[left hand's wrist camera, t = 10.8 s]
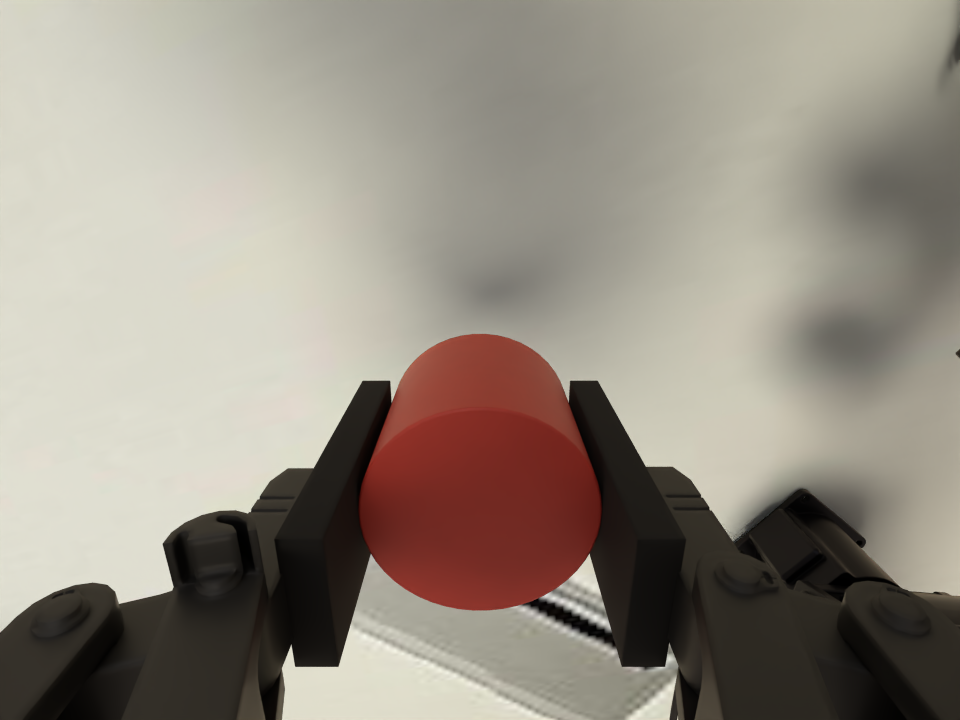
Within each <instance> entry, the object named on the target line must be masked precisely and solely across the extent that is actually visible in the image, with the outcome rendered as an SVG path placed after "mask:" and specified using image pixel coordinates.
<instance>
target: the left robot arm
mask: <svg viewBox="0 0 960 720" xmlns="http://www.w3.org/2000/svg"><path fill="white" fill-rule="evenodd" d="M391 404H392V402H391V387H390V381H362V383H361V385H360V387H359V388H358V390H357V392H356V394H355V396H354V397H353V399H352V401H351V403H350V405H349V406H348V408H347V410H346V412H345V413H344V415H343V417H342V419H341V421H340V422H339V424H338V426H337V428H336V430H335V431H334V433H333V435H332V437H331V438H330V440H329V442H328V444H327V446H326V447H325V449H324V451H323V453H322V455H321V456H320V458H319V460H318V462H317V463H316V465H315V467H314V468H288V469H287V470H285V471H284V472H282V473H281V474H280V475H278V476H277V477H275V478H274V479H273V480H271V481H270V482H269V484H268V485H267V487H266V488H265V490H264V491H263V493H262V494H261V496H260V499H259V500H257V501H256V503H255V504H254V506H253V507H252V509H251V512H249V513H248V514H247V513H243V512H239V511H236V510H234V511H217V512H213V513H209V514H205V515H201V516H199V517H197V518H195V519H192V520H190V521H188V522H186V523H184V524H183V525H181V526H180V527H178V528H177V529H176V530H174V531H173V532H172V533H171V534H170V535H169V536H168V538H167V539H166V540H165V541H164V543H163V547H164V551H165V555H166V559H167V563H168V567H169V570H170V574H171V578H172V582H173V586H174V588H173V590H172V591H170V592H167V593H163V594H160V595H156V596H152V597H148V598H143V599H139V600H135V601H130V602H126V603H122V604H119V603H118V600H117V597H116V593H115V591H114V590H112V589H111V588H110V587H109V586H108V585H104V584H98V583H88V584H80V585H74V586H71V587H68V588H65V589H62V590H60V591H57V592H54V593H52V594H50V595H48V596H46V597H45V598H43V599H41V600H39V601H37V602H35V603H34V604H32V605H31V606H30V607H28V608H27V609H26V610H25V611H23V612H22V613H21V614H20V615H18V616H17V617H16V618H15V619H14V620H13V621H12V622H11V623H10V624H9V625H8V626H7V627H6V628H5V629H4V630H3V631H2V632H1V633H0V720H282V712H283V703H284V693H285V686H284V679H283V673H282V666H283V664H284V661H285V659H286V656H287V654H288V651H289V649H290V646H291V644H292V650H293V656H294V662H295V667H338V666H339V663H340V659H341V656H342V652H343V649H344V645H345V642H346V638H347V635H348V631H349V628H350V624H351V621H352V617H353V614H354V610H355V607H356V603H357V600H358V596H359V593H360V589H361V586H362V582H363V579H364V575H365V572H366V568H367V565H368V561H369V558H370V554H371V553H370V551H369V549H368V547H367V545H366V542H365V540H364V538H363V534H362V531H361V527H360V521H359V512H358V504H359V494H360V489H361V484H362V481H363V479H364V476H365V473H366V471H367V468H368V465H369V463H370V460H371V457H372V455H373V452H374V449H375V447H376V444H377V441H378V439H379V436H380V433H381V431H382V428H383V425H384V423H385V420H386V417H387V415H388V412H389V409H390V407H391ZM569 405H570V408H571V411H572V413H573V416H574V419H575V421H576V424H577V427H578V430H579V432H580V435H581V438H582V440H583V443H584V446H585V448H586V451H587V454H588V456H589V459H590V462H591V464H592V467H593V470H594V472H595V475H596V478H597V481H598V484H599V488H600V493H601V500H602V514H601V524H600V528H599V532H598V536H597V538H596V541H595V543H594V545H593V548H592V550H591V551H590V557H591V560H592V564H593V567H594V571H595V574H596V578H597V581H598V585H599V588H600V592H601V595H602V599H603V602H604V606H605V609H606V613H607V616H608V620H609V623H610V627H611V630H612V634H613V637H614V641H615V644H616V648H617V651H618V655H619V658H620V662H621V665H622V667H665V664H666V658H667V652H668V646H669V643H670V645H671V648H672V650H673V653H674V655H675V658H676V660H677V663H678V665H679V667H678V673H677V678H676V684H675V690H674V695H673V701H672V706H671V713H670V720H677V716H678V720H960V629H959V628H958V627H957V626H956V625H955V624H954V623H953V622H952V621H951V620H950V619H949V618H948V617H947V616H946V615H945V614H943V613H942V612H941V611H940V610H938V609H937V608H936V607H934V606H933V605H932V604H931V603H929V602H928V601H926V600H925V599H923V598H921V597H919V596H917V595H915V594H913V593H911V592H910V591H908V590H905V589H902V588H900V587H896V586H893V585H890V584H887V583H882V582H875V581H862V582H856V583H853V584H852V585H851V586H850V587H849V588H847V589H846V592H845V595H844V598H843V601H842V602H839V601H835V600H831V599H826V598H822V597H818V596H813V595H809V594H805V593H801V592H798V591H794V590H791V589H788V588H787V587H786V585H785V584H784V582H783V581H782V579H781V578H780V576H779V575H778V574H777V573H776V572H775V571H774V570H772V569H771V568H770V567H769V566H767V565H766V564H765V563H763V562H761V561H759V560H757V559H755V558H753V557H751V556H749V555H745V554H742V553H740V552H739V550H738V549H737V547H736V546H735V544H734V543H733V541H732V540H731V538H730V537H729V535H728V534H727V532H726V531H725V530H724V528H723V527H722V525H721V524H720V522H719V521H718V519H717V518H716V516H715V515H714V513H713V512H712V511H710V510H709V506H708V505H707V503H706V502H705V500H704V499H703V498H701V494H700V493H699V491H698V490H697V488H696V487H695V486H694V484H693V483H692V481H691V480H690V479H689V478H687V477H686V476H685V475H683V474H682V473H680V472H679V471H678V470H676V469H675V468H673V467H646V466H645V465H644V463H643V461H642V459H641V457H640V456H639V454H638V452H637V450H636V449H635V447H634V445H633V443H632V441H631V440H630V438H629V436H628V434H627V432H626V431H625V429H624V427H623V425H622V424H621V422H620V420H619V418H618V416H617V415H616V413H615V411H614V409H613V407H612V406H611V404H610V402H609V400H608V399H607V397H606V395H605V393H604V391H603V390H602V388H601V386H600V384H599V382H598V381H570V392H569Z"/></svg>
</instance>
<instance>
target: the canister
mask: <svg viewBox="0 0 960 720" xmlns="http://www.w3.org/2000/svg"><path fill="white" fill-rule="evenodd" d="M358 512H359V521H360V527H361V531H362V534H363V538H364V540H365V542H366V545H367V547H368V549H369V551H370V553H371V554H372V556H373V557H374V559H375V561H376V562H377V563H378V564H379V566H380V567H381V568H382V569H383V571H384V572H385V573H386V574H387V575H388V576H390V577H391V578H392V579H393V580H394V581H395V582H396V583H398V584H399V585H400V586H402V587H403V588H405V589H406V590H408V591H410V592H411V593H413V594H415V595H417V596H418V597H421V598H423V599H425V600H428V601H430V602H433V603H436V604H439V605H443V606H446V607H452V608H457V609H464V610H496V609H504V608H509V607H514V606H518V605H521V604H524V603H527V602H530V601H533V600H535V599H537V598H539V597H542V596H544V595H546V594H547V593H549V592H551V591H552V590H554V589H556V588H557V587H559V586H560V585H561V584H563V583H564V582H565V581H567V580H568V579H569V578H570V577H571V576H572V575H573V574H574V573H575V572H576V571H577V570H578V569H579V567H580V566H581V565H582V564H583V562H584V561H585V560H586V558H587V556H588V555H589V553H590V551H591V550H592V548H593V545H594V543H595V541H596V538H597V536H598V532H599V528H600V524H601V514H602V500H601V493H600V488H599V484H598V481H597V478H596V475H595V472H594V470H593V467H592V464H591V462H590V459H589V456H588V454H587V451H586V448H585V446H584V443H583V440H582V438H581V435H580V432H579V430H578V427H577V424H576V421H575V419H574V416H573V413H572V411H571V408H570V405H569V403H568V400H567V397H566V395H565V392H564V389H563V387H562V384H561V382H560V380H559V378H558V376H557V375H556V373H555V371H554V370H553V369H552V367H551V366H550V365H549V364H548V362H547V361H545V360H544V359H543V358H542V357H541V356H540V355H539V354H538V353H536V352H535V351H534V350H532V349H531V348H529V347H527V346H526V345H524V344H522V343H520V342H517V341H515V340H512V339H510V338H506V337H502V336H498V335H490V334H470V335H463V336H458V337H455V338H451V339H448V340H446V341H443V342H441V343H438V344H437V345H435V346H433V347H431V348H430V349H428V350H427V351H425V352H424V353H423V354H421V355H420V356H419V357H418V358H417V359H416V360H415V361H414V362H413V363H412V364H411V365H410V367H409V368H408V369H407V371H406V372H405V374H404V375H403V377H402V379H401V381H400V383H399V385H398V388H397V391H396V393H395V396H394V399H393V401H392V404H391V407H390V409H389V412H388V415H387V417H386V420H385V423H384V425H383V428H382V431H381V433H380V436H379V439H378V441H377V444H376V447H375V449H374V452H373V455H372V457H371V460H370V463H369V465H368V468H367V471H366V473H365V476H364V479H363V481H362V484H361V489H360V494H359V504H358Z"/></svg>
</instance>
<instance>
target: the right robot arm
mask: <svg viewBox="0 0 960 720" xmlns="http://www.w3.org/2000/svg"><path fill="white" fill-rule="evenodd" d="M956 355H957V356H958V357H959V358H960V349H959V350H958V351H957V352H956ZM804 496H805V497H804ZM802 497H804V498H803V499H802ZM865 544H866V540H865V539H864V538H863V537H862V536H861V535H860V534H859V533H858V532H857V531H855V530H854V529H853V528H852V527H851V526H849V525H848V524H847V523H846V522H845V521H843V520H842V519H841V518H840V517H839V516H837V515H836V514H835V513H834V512H833V511H831V510H830V509H829V508H828V507H827V506H825V505H824V504H823V503H822V502H821V501H819V500H818V499H817V498H816V497H815V496H813V495H812V494H811V493H810V492H808V491H807V490H804V489H802V490H799V491H797V492H796V493H794V494H793V495H792V496H791V497H790V498H788V499H787V500H786V501H785V502H784V503H782V504H781V505H780V506H779V507H778V508H776V509H775V510H774V511H773V512H772V513H771V514H769V515H768V516H767V517H766V518H765V519H763V520H762V521H761V522H760V523H759V524H757V525H756V526H755V527H754V528H753V529H751V530H750V531H749V532H748V533H747V534H745V535H744V536H743V537H742V538H741V539H739V540H738V541H737V542H736V543H735V546H736V547H737V549H738V550H739V552H740V553H742V554H745V555H749V556H751V557H753V558H755V559H757V560H759V561H761V562H763V563H765V564H766V565H767V566H769V567H770V568H771V569H772V570H774V571H775V572H776V573H777V574H778V575H779V576H780V578H781V579H782V581H783V582H784V584H785V585H786V587H787V588H788V589H791V590H794V591H798V592H801V593H805V594H809V595H813V596H818V597H822V598H826V599H831V600H835V601H839V602H842V601H843V598H844V595H845V592H846V589H847V588H849V587H850V586H851V585H852V584H853V583H856V582H862V581H875V582H882V583H887V584H890V585H893V586H896V587H899V586H898V585H897V584H896V583H895V582H894V581H893V580H892V579H891V578H890V577H889V576H888V575H887V574H886V573H885V572H884V571H883V570H882V569H881V568H880V567H879V566H878V565H877V564H876V563H875V562H874V561H873V560H872V559H871V558H870V557H869V556H868V555H867V554H866V553H865V552H864V551H863V550H862V549H861V548H862V547H864V546H865ZM910 592H911V591H910ZM911 593H913V594H915V595H917V596H919V597H921V598H923V599H925V600H926V601H928V602H929V603H931V604H932V605H933V606H934V607H936V608H937V609H938V610H940V611H941V612H942V613H943V614H945V615H946V616H947V617H948V618H949V619H950V620H951V621H952V622H953V623H954V624H955V625H956V626H957V627H958V628H959V629H960V596H951V595H949V594H947V593H944V592H934V593H923V592H911Z"/></svg>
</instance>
